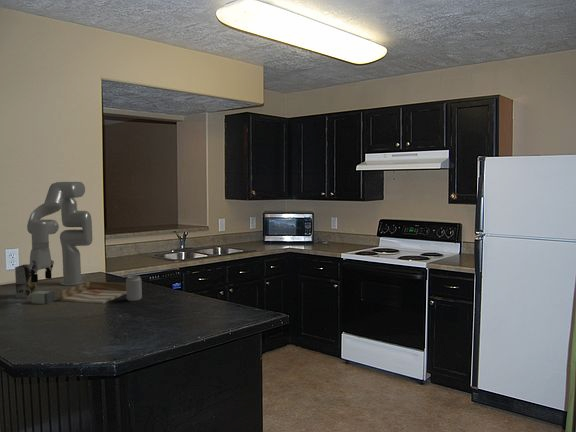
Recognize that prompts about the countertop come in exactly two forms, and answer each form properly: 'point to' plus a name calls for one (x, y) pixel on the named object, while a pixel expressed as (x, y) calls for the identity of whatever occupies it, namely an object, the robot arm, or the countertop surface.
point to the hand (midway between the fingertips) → (41, 280)
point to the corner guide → (93, 292)
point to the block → (42, 297)
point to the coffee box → (24, 282)
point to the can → (133, 288)
